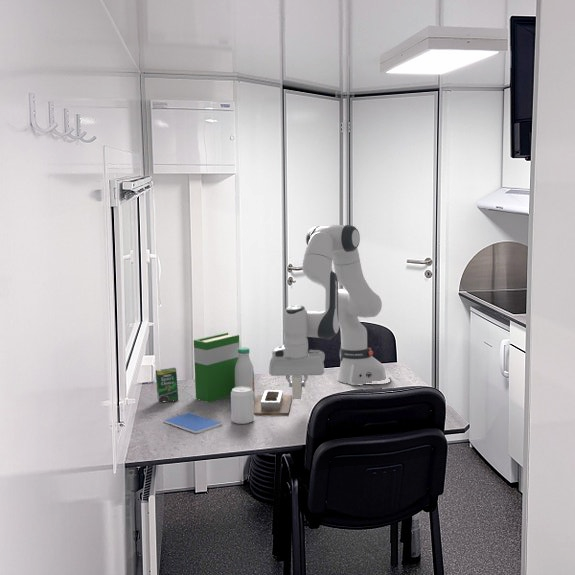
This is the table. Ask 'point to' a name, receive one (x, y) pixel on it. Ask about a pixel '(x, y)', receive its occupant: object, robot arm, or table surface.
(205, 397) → the hardback book
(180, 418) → the tablet computer
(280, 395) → the bottom track
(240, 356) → the milk bottle
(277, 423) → the table surface
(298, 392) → the door panel
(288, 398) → the track board
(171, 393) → the coffee box
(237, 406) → the beverage can
